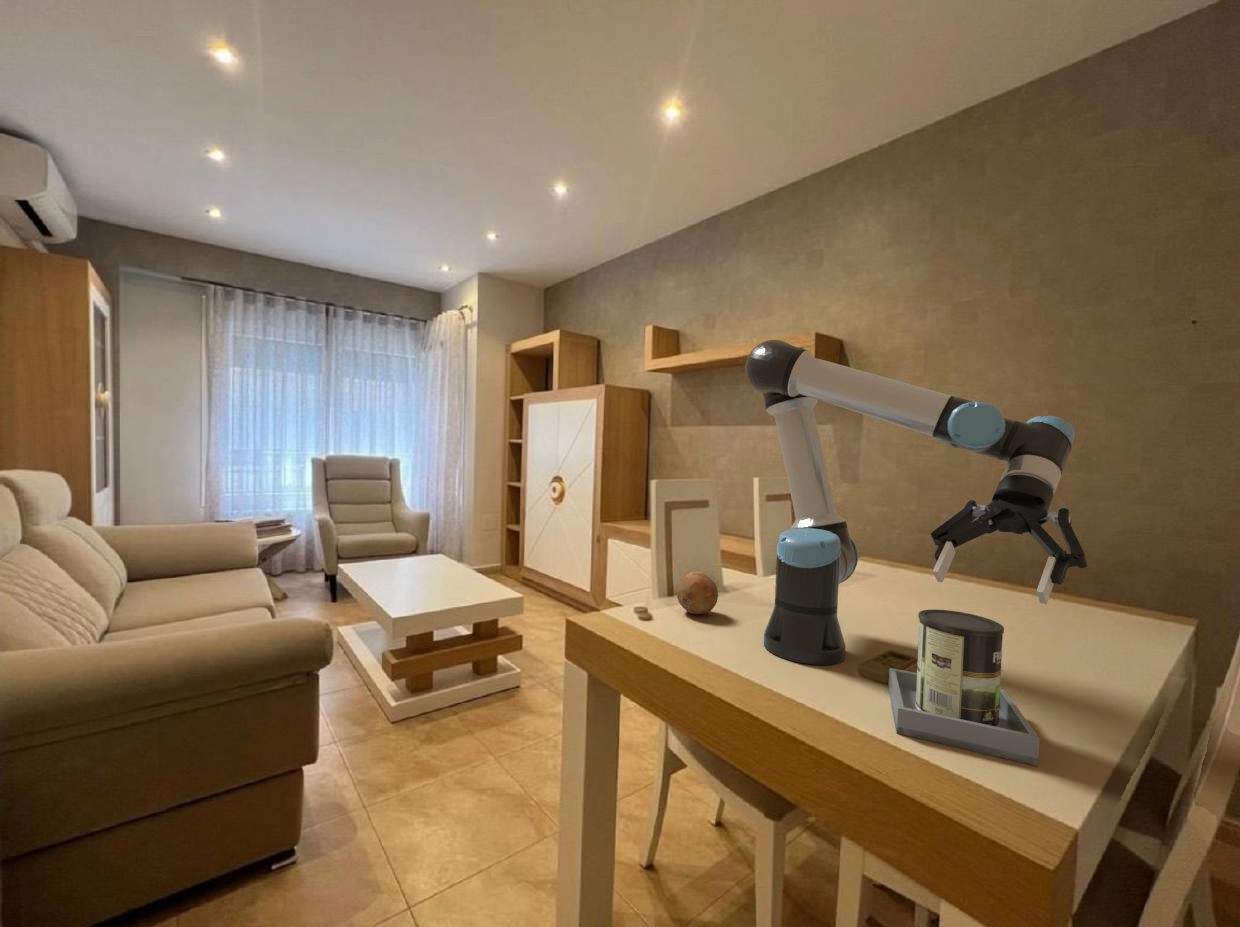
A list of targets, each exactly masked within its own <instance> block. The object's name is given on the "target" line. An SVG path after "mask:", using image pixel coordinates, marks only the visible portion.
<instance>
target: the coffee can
mask: <svg viewBox="0 0 1240 927" xmlns="http://www.w3.org/2000/svg"><path fill="white" fill-rule="evenodd" d="M918 621H919V622H918V644H917V645H918V647H917V666H916V667H917V668H916V673H917V689H916V703H915V707H916V709H917V710H920V711H925V712H929V713H934V714H939V715H944V716H948V717H953V718H958V719H962V720H967V721H972V722H976V723H981V724H986V725H991V726H995V727H999V699H1000V689H1001V677H1002V676H1001V675H1002V656H1003V655H1002V654H1003V652H1002V651H1003V650H1002V649H1003V640H1004V639H1003V635H1004V633H1005V632H1004V631H1005V627H1004V626H1003V625H1002V623H999V622H997V621H995V620H994V619H993V620H992V619H990V618H987V617H984V616H981V615H977V614H973V613H972V614H971V613H968V612H963V611H958V610H957V611H955V610H946V609H934V608H933V609H930V608H929V609H923V610H919V611H918Z"/></svg>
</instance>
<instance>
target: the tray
mask: <svg viewBox="0 0 1240 927" xmlns="http://www.w3.org/2000/svg"><path fill="white" fill-rule="evenodd" d="M887 689H888V694H889V699H890V705H891V711H892V715H893V716H892V717H893V721H894V726H895V731H896V734H898V735H902V736H906V737H910V738H916V739H920V740H923V741H928V742H932V743H936V744H941V745H946V746H950V747H953V748H959V749H962V750H966V751H971V752H974V753H979V754H985V755H987V756H992V757H998V758H1000V759H1005V760H1009V761H1013V762H1014V761H1015V762H1019V763H1022V764H1026V765H1030V766H1031V765H1032V766H1036V767H1038V766H1039V757H1040V756H1039V755H1040V738H1039V736H1038V734H1037V733H1036V732H1035V730H1034V729H1033V727H1032V726H1031V725H1030V723H1029V721H1028V720H1027V719H1026V717H1025V716H1024V714H1023V713H1022V712H1021V710H1020V709H1019V707H1018V706H1017V705H1016V704H1015V702H1014V701H1013V699H1012V698H1011V697H1010V696H1009V694H1008V692H1007V691H1006V689H1005V688H1000V699H999V727H995V726H991V725H986V724H981V723H976V722H972V721H967V720H962V719H958V718H953V717H948V716H944V715H939V714H934V713H929V712H925V711H920V710H917V709H916V707H915V703H916V689H917V672H913V671H908V670H903V669H897V668H892V667H889V670H888V688H887Z"/></svg>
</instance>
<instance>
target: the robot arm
mask: <svg viewBox="0 0 1240 927" xmlns="http://www.w3.org/2000/svg"><path fill="white" fill-rule="evenodd" d="M744 364H745V366H744V370H745V371H744V372H745V375H746V379H747V381H748V383H749V384H750V385H751V387H753V388H754V389H755V390H757V391H758V392H760V393H762V397H763V400H764V401H763V402H764V405H765V406H764V407H765V411H766V413H768V414H769V415H771V416H772V417H774V420H775V425H776V430H777V435H778V440H779V444H780V445H779V446H780V449H781V454H782V459H783V462H784V470H785V474H786V478H787V482H788V486H789V487H788V488H789V491H790V492H789V493H790V497H791V501H792V507H793V511H794V515H795V520H794V522H793V524H792V525H791V527H790V529H787V530H785V531H783V532H781V533H780V534H779V536H778V541H777V545H776V550H775V552H776V562H775V563H776V568H775V571H776V572H775V586H774V587H775V588H774V589H775V590H774V607H773V610H772V613H771V614H770V618H769V620H768V623H767V625H766V628H765V630H764V632H763V646H764V648H765V649H766V650H767V651H768V652H770V653H771V654H772V655H773V654H774V655H776V656H777V657H780V658H782V659H786V660H788V661H792V662H797V663H801V664H808V665H817V666H818V665H821V666H822V665H823V666H826V665H827V666H828V665H835V664H840V663H842V662H844V660H845V658H846V642H845V640H844V636H843V633H842V629H841V625H840V623H839V622H840V621H839V618H838V605H839V604H838V602H839V586H840V585H839V584H841V583H844V582H845V581H847V580H848V579H850V578H851V577H852V575H853V574H854V572H855V570H856V568H857V565H858V560H859V552H858V548H857V544H855V542H854V541H853V539H852V538H851V537H850V534H849V528H848V523H847V520H846V519H845V518H844V517H842V516H841V515H840V514H838V513H837V509H836V505H835V500H834V496H833V492H832V487H831V483H830V477H829V473H828V469H827V468H828V467H827V465H826V460H825V456H824V451H823V446H822V441H821V437H820V433H819V428H818V423H817V419H816V415H815V411H814V408H815V407H816V405H817V403H818V402H819V401H820V402H824V403H827V404H830V405H833V406H836V407H840V408H842V409H846V410H848V411H851V412H856V413H857V414H861V415H864V416H866V417H867V416H868V417H871V418H873V419H877V420H880V421H883V422H886V423H889V424H893V425H896V426H899V427H902V428H905V429H909V430H912V431H915V432H917V433H921V434H924V435H926V436H930V437H934V438H936V439H937V440H938V441H939V442H941V443H942V444H946V445H948V446H951V447H952V448H953V447H954V448H955V449H960V450H965V451H968V452H971V453H976V454H979V455H983V456H986V457H989V458H992V459H993V458H994V459H997V460H999V461H1003V462H1006V463H1007V464H1006V467H1005V468H1004V471H1003V473H1002V475H1001V477H1000V480H999V482H998V484H997V486H996V487H995V488H996V489H995V491H994V493H993V496H992V499H991V501H990V502H989V503H988V504H987V505H983V504H977V502H976V500H973V499H971V500H968V501H967V503H966V504H965V506H964V507H963V508H962V509H961V510H960V511H958V512H957V513H956V514H954V515H953V516H952V517H951V518H949V519H947V521H945V522H944V523H943V524H941V525H940V526H938V527H937V528H935V529H934V530H933V531H931V533H930V536H931V539H932V541H933V543H934V545H935V546H937V549H936V550H935V553H934V558H935V560H936V563H935V565H934V567H933V570H932V573H933V575H934V577H935V579H936V581H937V582H939V583H943V581H944V579H945V577H946V575H947V573H948V571H949V568H950V567H951V564H952V562H953V560H954V558H955V555H956V549H955V548H957V547H960V546H962V545H964V544H966V543H968V542H970V541H972V540H974V539H977V538H979V537H981V536H983V535H985V534H988V535H989V534H992V533H994V532H996V531H999V532H1001V533H1014V534H1017V535H1023V534H1025V533H1028V534H1029V535H1030V536H1031V537H1032V538H1033V539H1034V540H1036V542H1037V543H1038V544H1039V545H1040V546H1041V548H1042V549H1044V550H1045V552H1046V553H1047V554H1048V557H1047V561H1046V564H1045V566H1044V569H1043V572H1042V575H1041V576H1040V577H1041V578H1040V580H1039V583H1038V586H1037V589H1036V595H1037V597H1038V601H1039V603H1040V604H1044V605H1047V604H1048V602H1049V599H1050V596H1051V593H1052V590H1053V587H1054V584H1056V585H1062V584H1063V583H1064V581H1065V579H1066V575H1067V573H1068V570H1069V569H1070V568H1072V567H1073V568H1074V567H1077V568H1080V569H1086V568H1087V567H1088V562H1087V558H1086V554H1085V551H1084V549H1083V547H1082V545H1081V544H1080V542H1079V540H1078V538H1077V535H1076V533H1075V531H1074V529H1073V527H1072V518H1071V514H1070V511H1069V509H1068V508H1066V507H1064V508H1063V507H1062V508H1059V509H1058V511H1049V510H1050V507H1051V505H1052V501H1053V500H1054V495H1055V493H1056V490H1057V487H1058V485H1059V483H1060V480H1061V478H1062V474H1063V472H1064V469H1065V467H1066V464H1067V462H1068V459H1069V456H1070V454H1071V451H1072V450H1073V443H1074V440H1075V436H1076V434H1075V430H1074V427H1073V426H1072V425H1071V424H1070V423H1069V422H1068V421H1067V420H1065V419H1063V418H1062V417H1058V416H1054V415H1044V416H1042V415H1039V416H1038V415H1037V416H1035V417H1033V418H1030V419H1029V420H1027V421H1026V422H1023V421H1018V420H1013V419H1010V418H1006V417H1004V414H1003V413H1002V412H1001V410H1000V409H999V408H997V407H996V406H995V405H993V404H991V403H988V402H985V401H979V400H977V401H976V400H973V401H972V400H968V399H965V398H961V397H958V396H953V395H952V394H947V393H943V392H940V391H936V390H932V389H930V388H929V389H928V388H925V387H923V386H922V387H921V386H918V385H914V384H912V383H907V382H903V381H900V380H896V379H893V378H890V377H886V376H882V375H879V374H874V373H871V372H868V371H864V370H861V369H856V368H853V367H851V366H846V365H842V364H839V363H836V362H832V361H828V360H824V359H821V358H816V357H815V356H814V354H813V353H812V351H811V350H808V349H804V348H801V347H798V346H795V345H794V344H793V345H792V344H790V343H788V342H786V341H783V340H780V339H768V340H765V341H762V342H761V343H758V344H757V345H756V346H755V347H754V348H753V349H752V350H751V351H750V352H749V354H748V356H747V358H746V360H745V363H744ZM975 519H976V520H975ZM1049 521H1051V522H1052V524H1053V526H1056V527H1057V528H1059V530H1060V533H1061V535H1062V538H1063V540H1064V541H1065V544H1066V547H1067V548H1068V551H1069V553H1067V550H1066V549H1065V550H1064V549H1063V548H1062V547H1061V546H1060V545H1059V544H1058V543H1057V542H1056V540H1055V539H1054V538H1053V537H1052V536H1050V534H1049V533H1048V532H1047V531H1046V529H1044V528H1043V526H1042V525H1045V524H1047V522H1049ZM990 523H991V524H990Z"/></svg>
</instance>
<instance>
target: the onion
mask: <svg viewBox="0 0 1240 927" xmlns="http://www.w3.org/2000/svg"><path fill="white" fill-rule="evenodd" d="M676 597H677V600H678V601H677V602H678V603H679V604H680V606H681V607H682V608H683V609H684V610H685V611H686V612H688V613H690V614H692V615H704V614H708V613H710V612H711V611H712V610H713V609H714V608H715V606H716V604H717V603H718V599H719V590H718V587H717V585H716V583H715V582H714V580H713V579H712V578H711V577H710V576H709V575H707V574H706V573H704V572H701V571H691V572H688V573H686V574H685V575H684V576H683V577H682V579H681V580H680V582H679V584H678V586H677V591H676Z"/></svg>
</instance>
